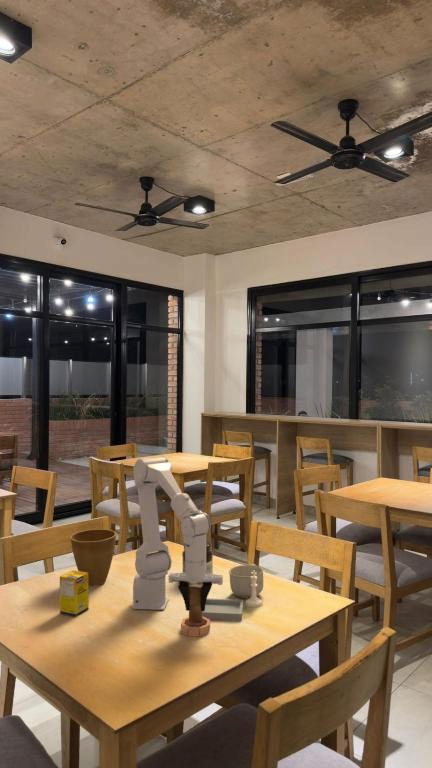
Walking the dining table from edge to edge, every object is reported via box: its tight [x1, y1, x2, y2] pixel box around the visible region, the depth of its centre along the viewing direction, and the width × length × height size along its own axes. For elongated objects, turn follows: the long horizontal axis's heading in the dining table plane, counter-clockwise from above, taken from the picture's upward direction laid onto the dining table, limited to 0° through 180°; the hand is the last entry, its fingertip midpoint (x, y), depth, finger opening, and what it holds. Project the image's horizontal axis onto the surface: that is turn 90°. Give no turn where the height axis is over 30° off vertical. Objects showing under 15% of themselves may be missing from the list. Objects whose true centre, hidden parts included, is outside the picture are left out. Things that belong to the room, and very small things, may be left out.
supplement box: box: [59, 569, 90, 617], centre depth 158 cm, size 6×6×11 cm
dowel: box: [188, 584, 202, 623], centre depth 147 cm, size 4×4×9 cm
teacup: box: [228, 563, 264, 600], centre depth 172 cm, size 14×11×8 cm
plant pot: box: [69, 528, 117, 587], centre depth 181 cm, size 15×15×16 cm
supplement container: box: [181, 539, 214, 574], centre depth 186 cm, size 10×10×12 cm
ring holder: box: [180, 616, 211, 637], centre depth 147 cm, size 8×8×2 cm
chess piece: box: [245, 570, 263, 608], centre depth 164 cm, size 5×5×10 cm
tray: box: [202, 597, 245, 621], centre depth 158 cm, size 12×10×2 cm
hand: (195, 609), depth 147 cm, fingers closed on dowel, 4 cm apart
